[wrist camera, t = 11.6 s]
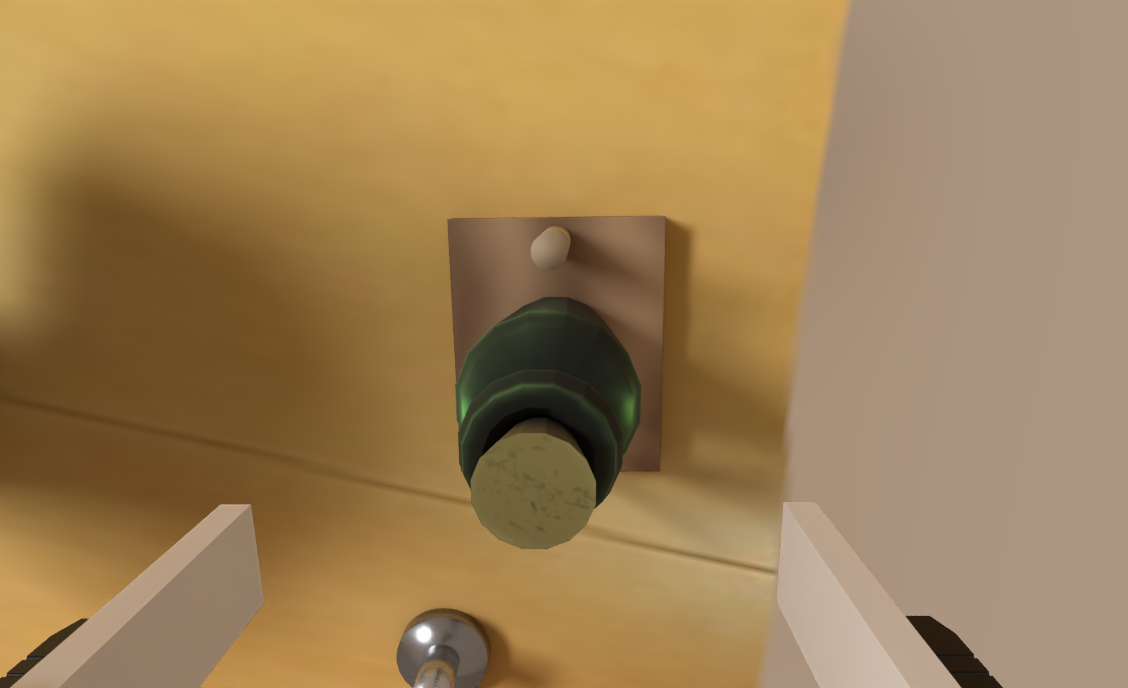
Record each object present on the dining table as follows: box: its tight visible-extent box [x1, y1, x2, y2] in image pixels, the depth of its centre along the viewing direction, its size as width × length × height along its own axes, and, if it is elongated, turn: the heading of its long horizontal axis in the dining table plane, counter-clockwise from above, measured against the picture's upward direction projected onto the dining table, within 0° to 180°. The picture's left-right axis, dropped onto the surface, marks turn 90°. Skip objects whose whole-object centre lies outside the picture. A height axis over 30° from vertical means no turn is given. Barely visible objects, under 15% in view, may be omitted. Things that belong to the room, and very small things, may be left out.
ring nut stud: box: [397, 609, 490, 688], centre depth 41 cm, size 6×6×5 cm
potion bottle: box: [455, 297, 642, 549], centre depth 28 cm, size 8×8×18 cm
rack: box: [448, 216, 666, 472], centre depth 33 cm, size 12×15×10 cm
